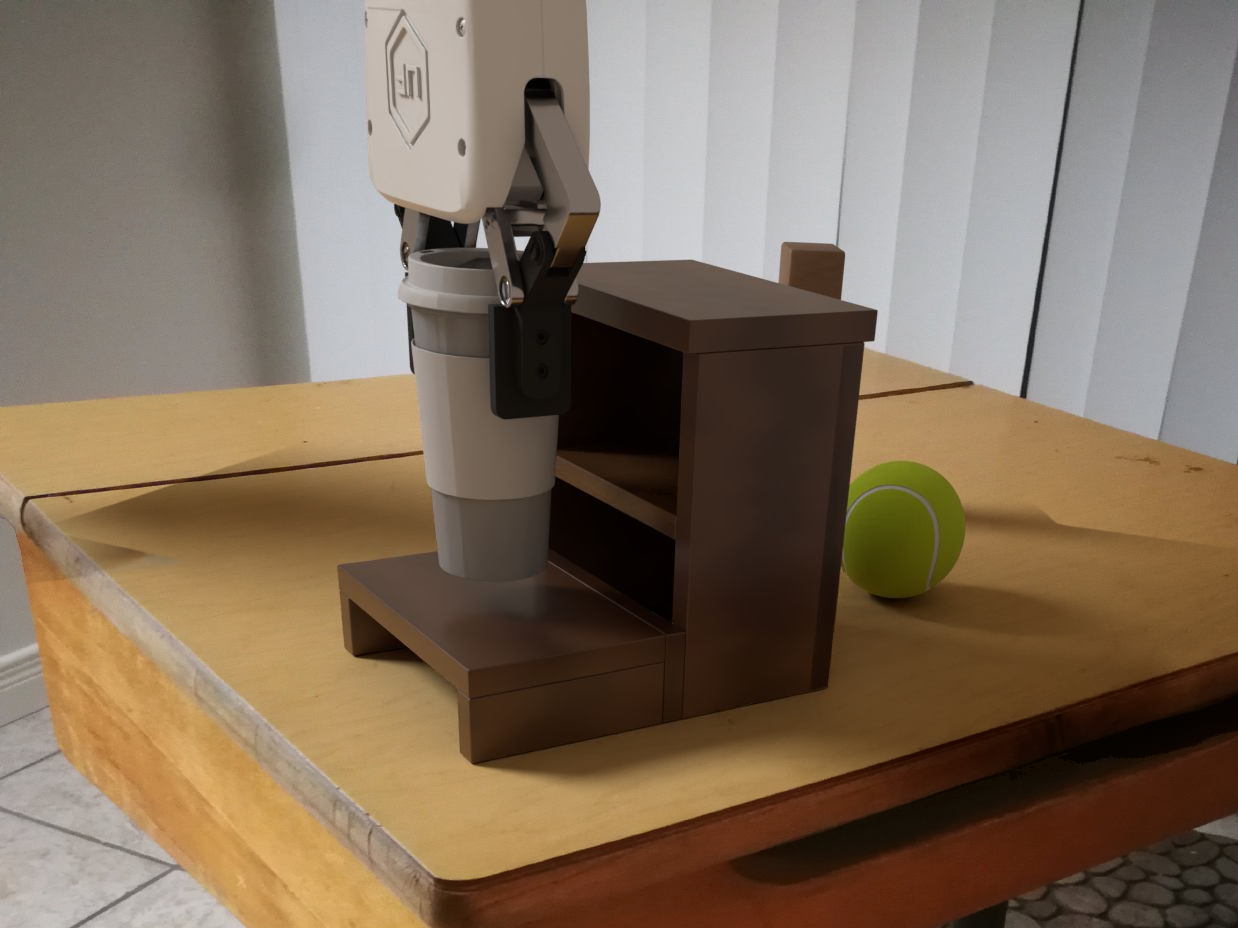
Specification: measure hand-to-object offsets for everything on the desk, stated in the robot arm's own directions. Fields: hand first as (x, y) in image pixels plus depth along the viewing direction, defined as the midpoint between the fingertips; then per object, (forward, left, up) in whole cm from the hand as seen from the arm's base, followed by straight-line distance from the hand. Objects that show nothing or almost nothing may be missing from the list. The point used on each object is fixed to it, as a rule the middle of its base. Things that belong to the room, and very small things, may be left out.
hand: (487, 390), depth 58 cm
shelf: (+5, 0, -13) cm, 13 cm away
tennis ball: (+25, +2, -13) cm, 28 cm away
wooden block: (+31, +20, -13) cm, 39 cm away
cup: (0, 0, -7) cm, 7 cm away
